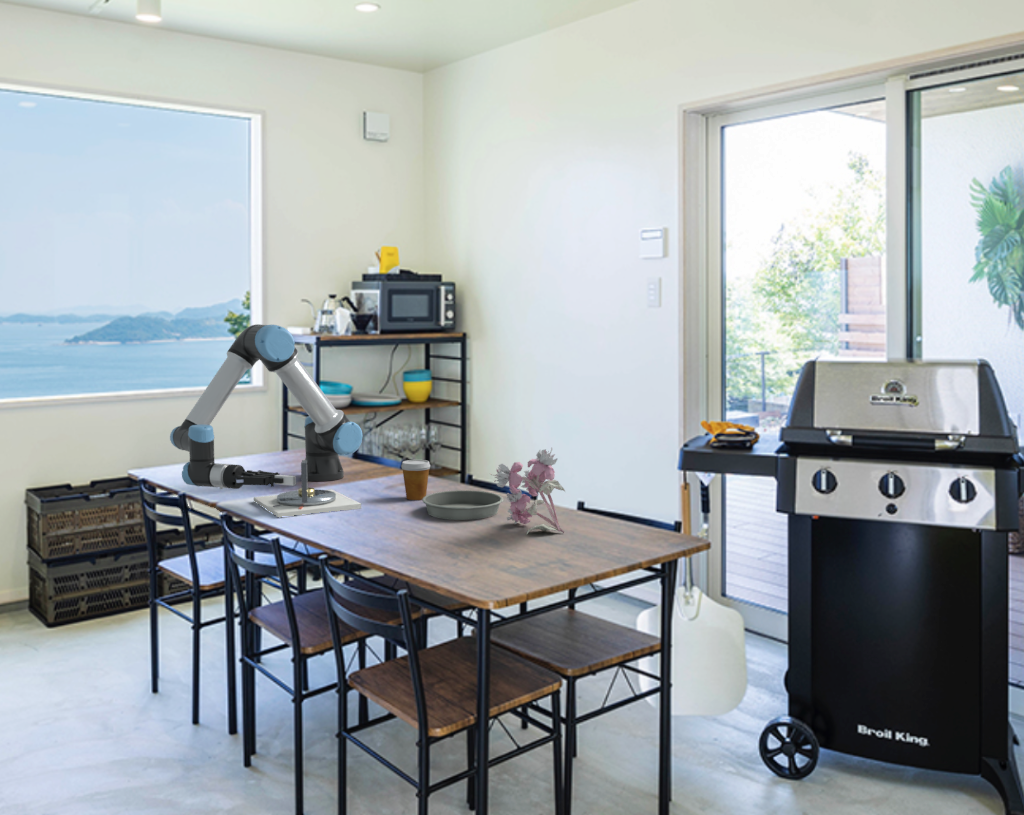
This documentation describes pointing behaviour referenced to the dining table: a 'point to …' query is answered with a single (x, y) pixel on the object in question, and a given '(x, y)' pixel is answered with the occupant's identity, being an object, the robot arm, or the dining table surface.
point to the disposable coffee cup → (415, 478)
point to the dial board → (289, 510)
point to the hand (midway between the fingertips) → (294, 480)
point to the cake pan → (462, 504)
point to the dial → (305, 493)
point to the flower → (530, 489)
